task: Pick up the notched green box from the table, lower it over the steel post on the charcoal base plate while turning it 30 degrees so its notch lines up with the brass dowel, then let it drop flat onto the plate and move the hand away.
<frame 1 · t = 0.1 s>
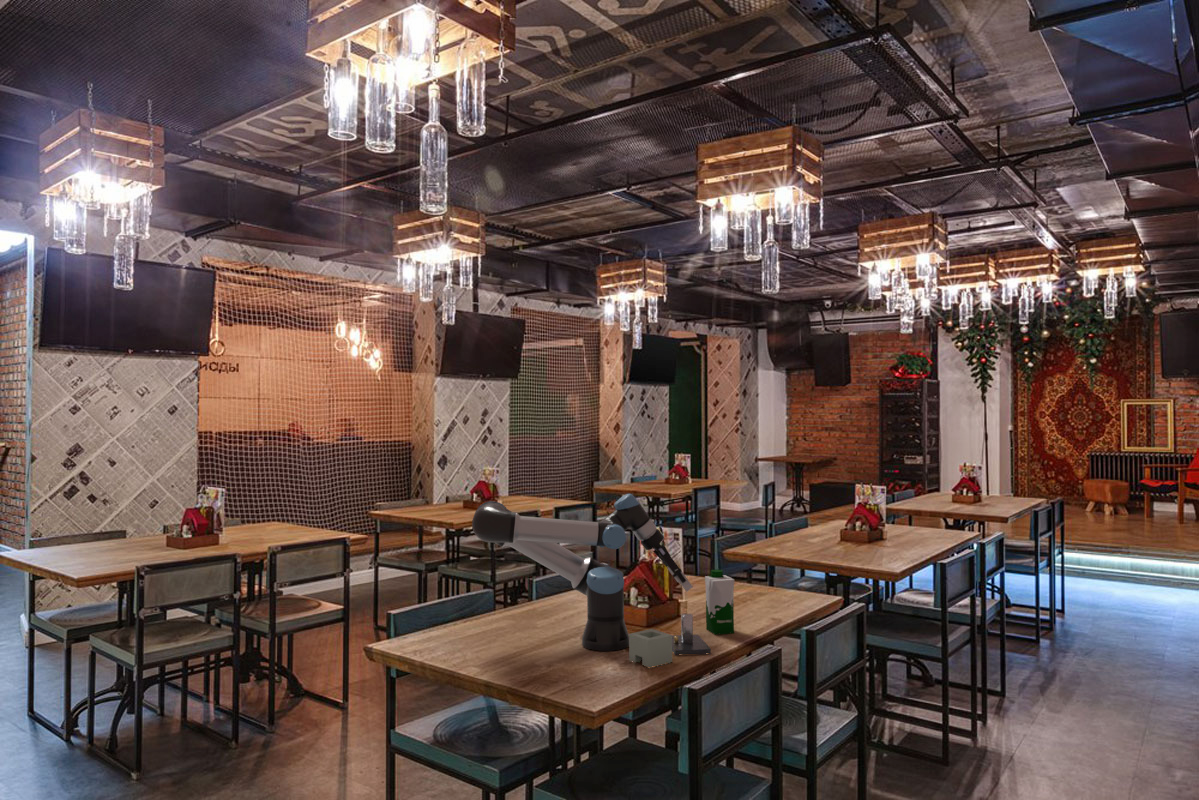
hand: (685, 584, 265), 15 cm above the table, tool tilted 35°, fingers open, 13 cm apart
base plate: (687, 647, 245), on the table
milk carton: (720, 632, 263), on the table
notched green box: (650, 661, 231), on the table
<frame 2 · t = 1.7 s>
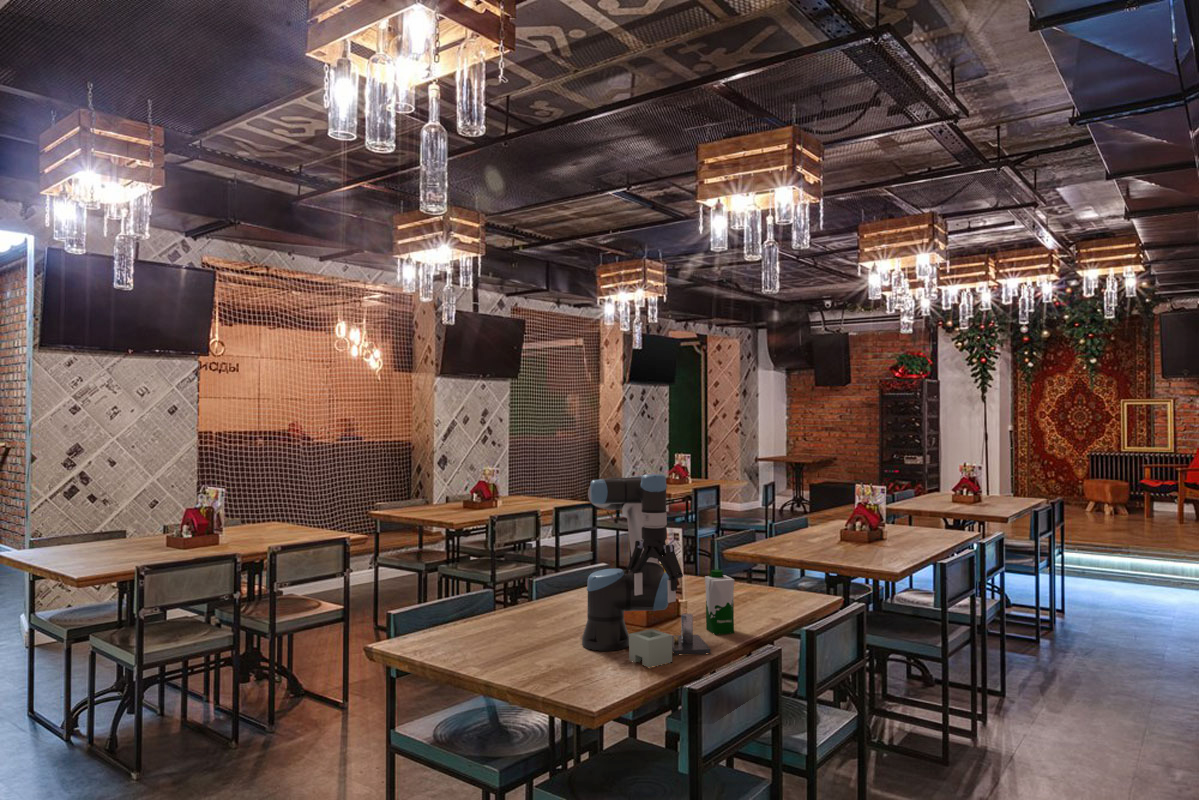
hand: (654, 598, 232), 18 cm above the table, tool pointing down, fingers open, 13 cm apart
nothing on the table moved.
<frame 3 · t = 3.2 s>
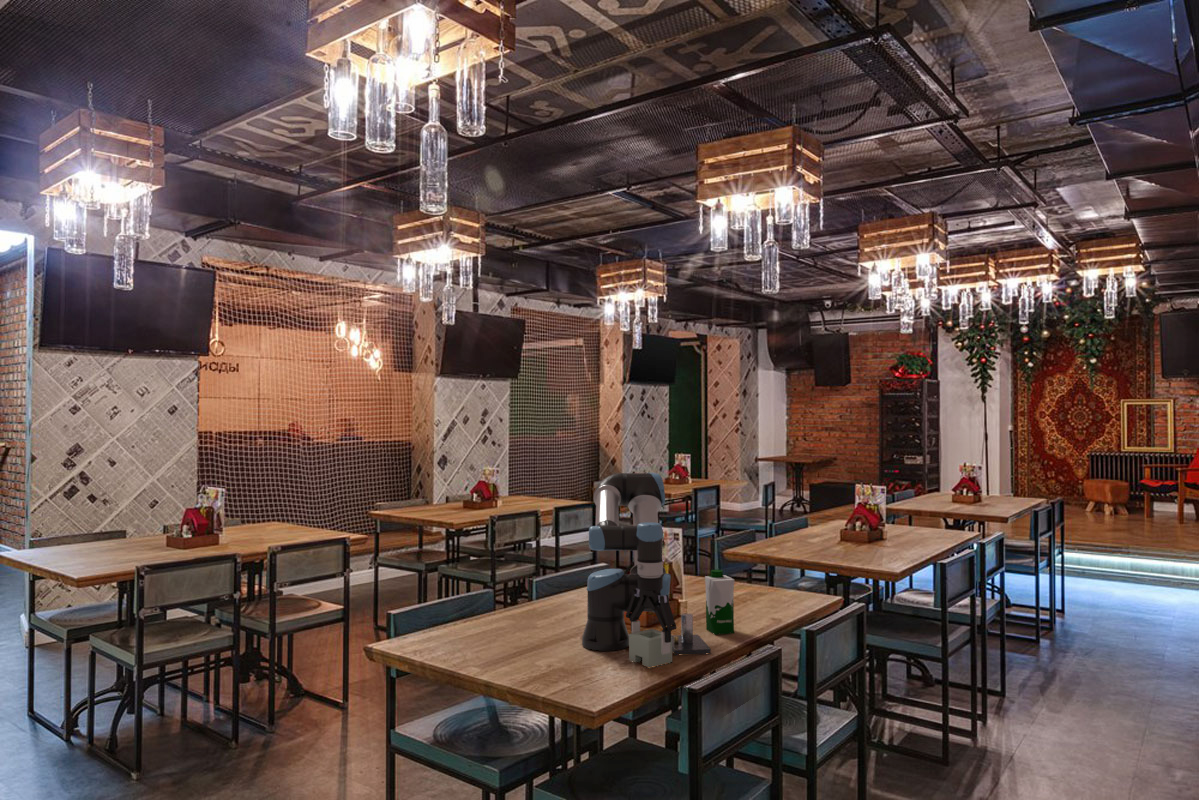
hand: (650, 648, 231), 4 cm above the table, tool pointing down, fingers open, 13 cm apart
nothing on the table moved.
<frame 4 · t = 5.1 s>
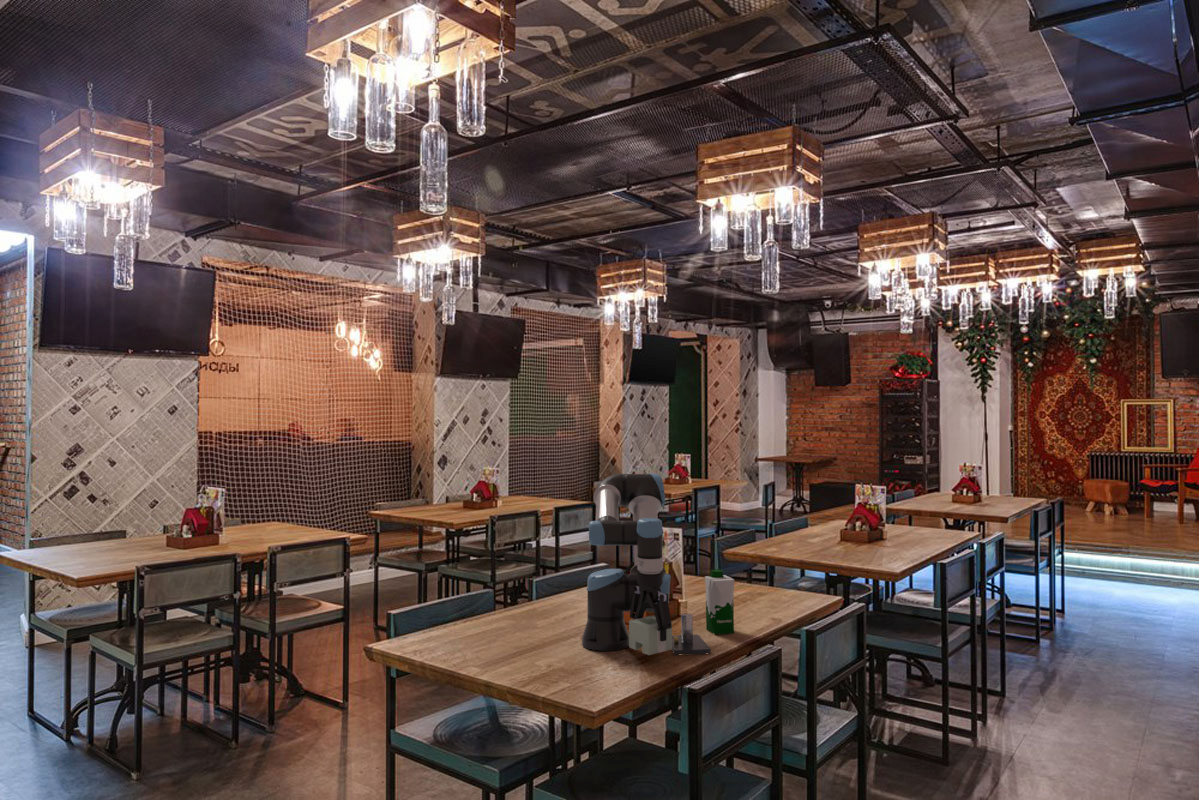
hand: (650, 647, 232), 4 cm above the table, tool pointing down, fingers closed on notched green box, 9 cm apart
notched green box: (650, 648, 232), point 4 cm above the table, touching gripper
everything else where it was.
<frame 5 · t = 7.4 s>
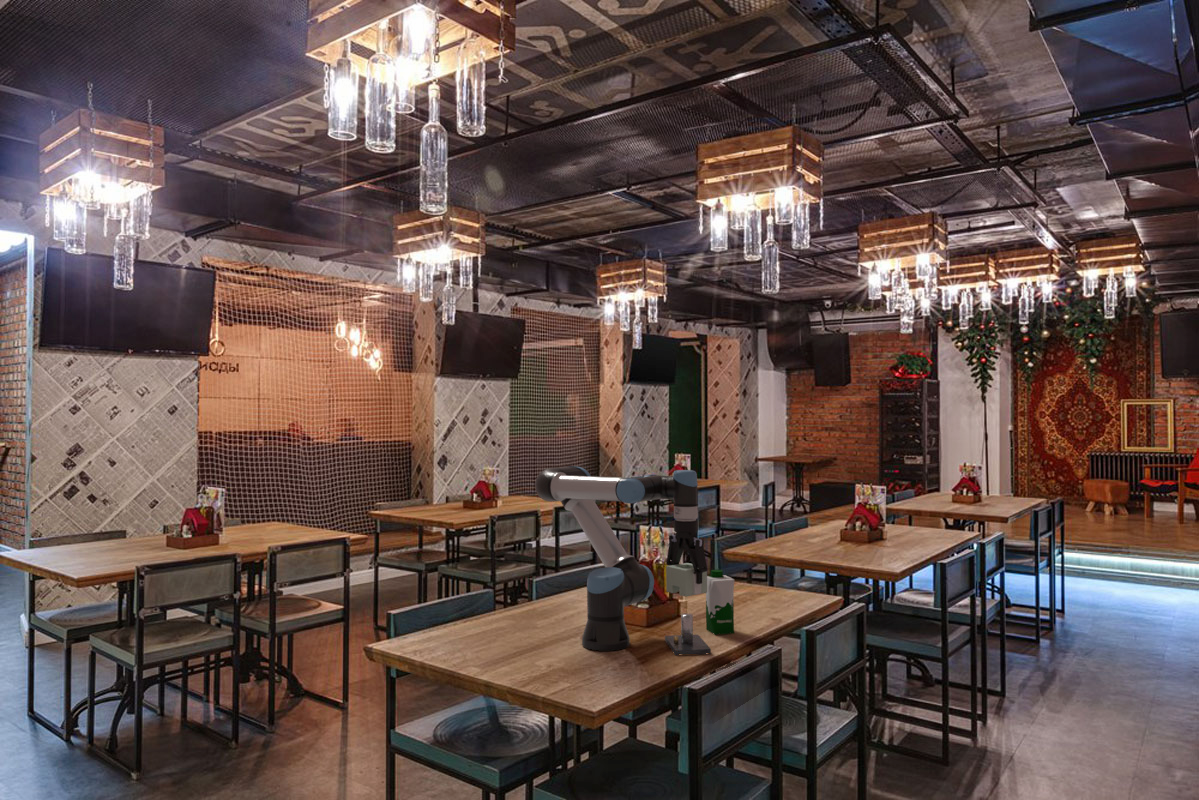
hand: (686, 591, 246), 17 cm above the table, tool pointing down, fingers closed on notched green box, 9 cm apart
notched green box: (686, 592, 246), point 17 cm above the table, touching gripper
everything else where it was.
when the fingers open (4 cm above the table, at t = 10.2 s): notched green box drops 2 cm, resting on base plate.
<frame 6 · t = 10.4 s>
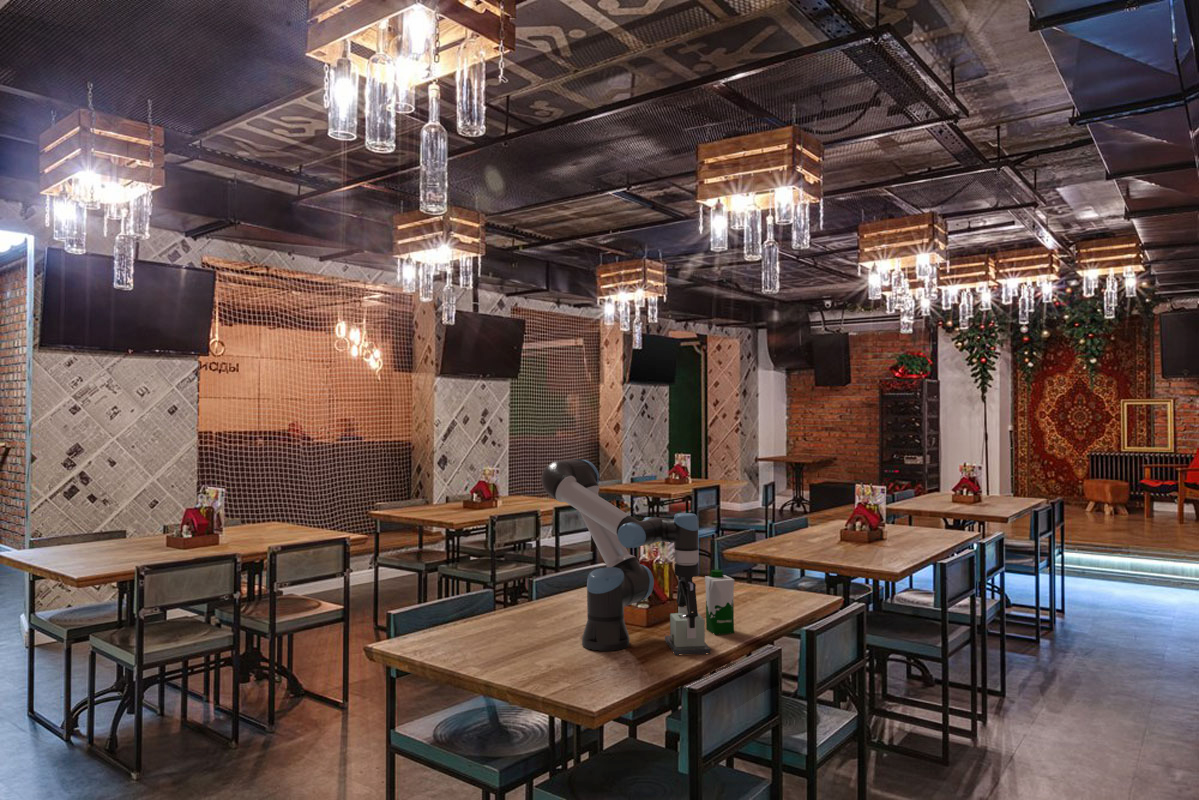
hand: (687, 632, 246), 4 cm above the table, tool pointing down, fingers open, 11 cm apart
notched green box: (687, 642, 245), point 1 cm above the table, touching base plate
everything else where it was.
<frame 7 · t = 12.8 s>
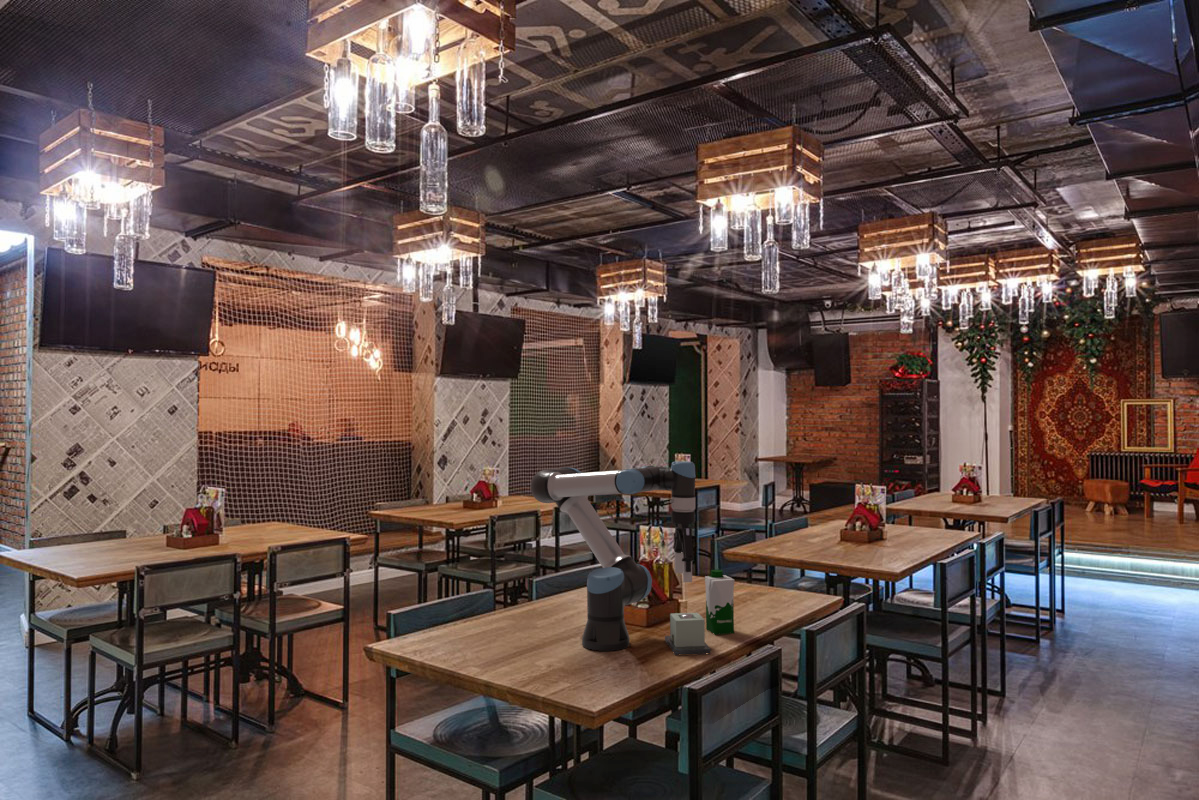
hand: (683, 577, 248), 21 cm above the table, tool pointing down, fingers open, 13 cm apart
nothing on the table moved.
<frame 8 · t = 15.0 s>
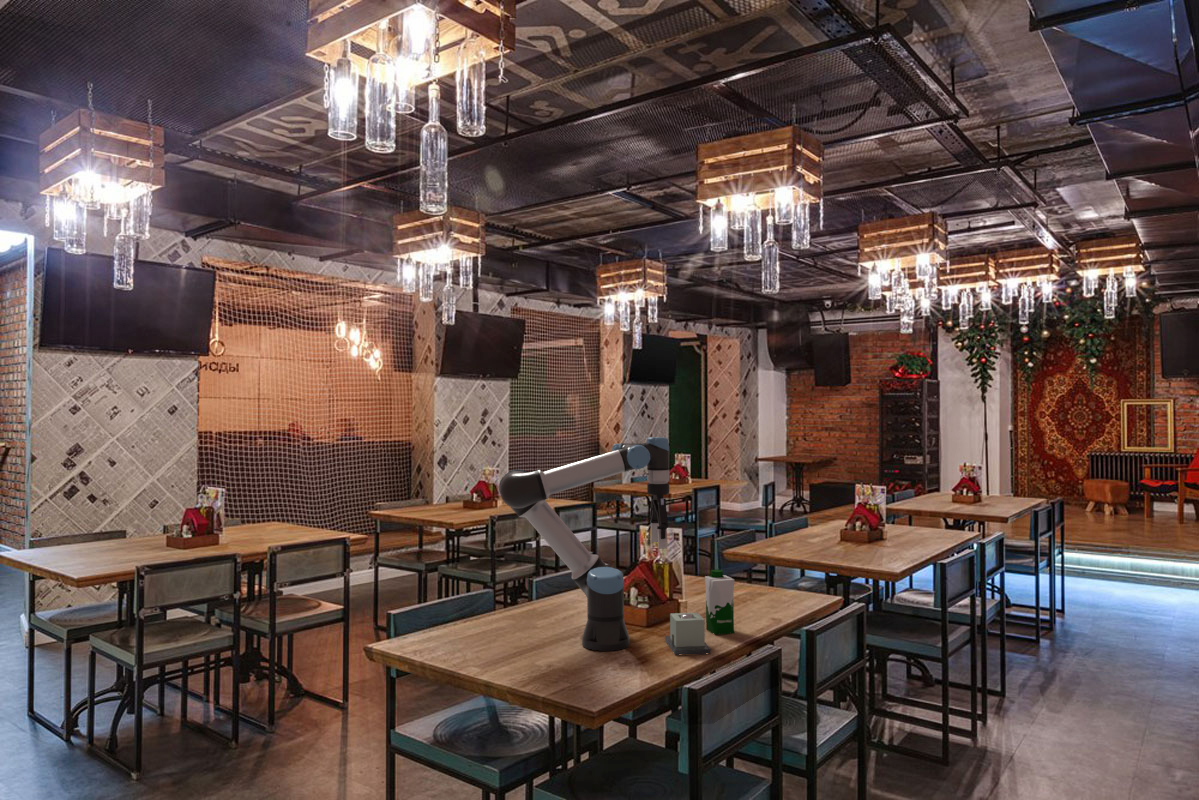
hand: (658, 545, 265), 29 cm above the table, tool pointing down, fingers open, 13 cm apart
nothing on the table moved.
at the end: notched green box 0.0 cm off-centre on the base plate, point 1.5 cm above the base plate's base; notched green box tilted 0°; the gripper is holding nothing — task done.
